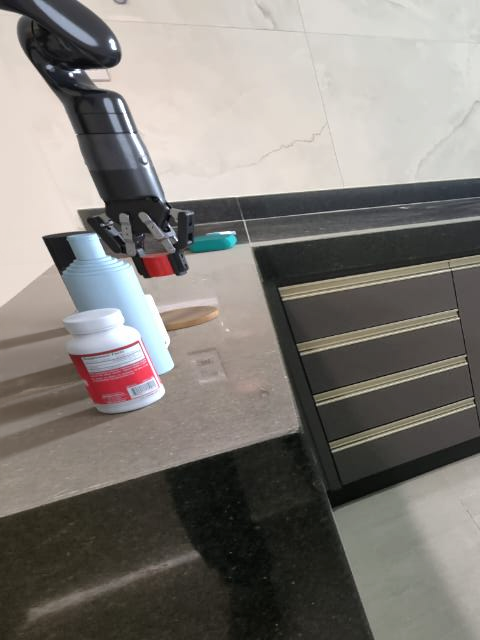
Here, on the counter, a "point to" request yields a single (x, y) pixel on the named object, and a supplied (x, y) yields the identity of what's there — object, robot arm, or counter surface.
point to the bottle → (113, 293)
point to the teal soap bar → (213, 241)
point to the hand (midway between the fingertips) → (165, 275)
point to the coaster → (188, 316)
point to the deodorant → (61, 249)
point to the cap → (158, 265)
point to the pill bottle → (112, 361)
